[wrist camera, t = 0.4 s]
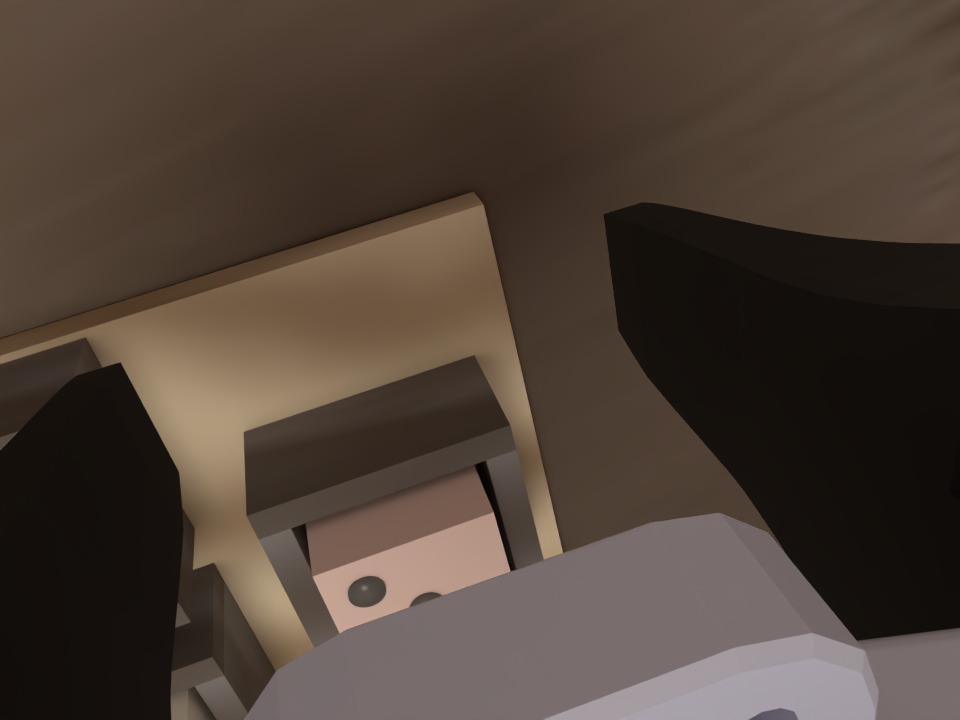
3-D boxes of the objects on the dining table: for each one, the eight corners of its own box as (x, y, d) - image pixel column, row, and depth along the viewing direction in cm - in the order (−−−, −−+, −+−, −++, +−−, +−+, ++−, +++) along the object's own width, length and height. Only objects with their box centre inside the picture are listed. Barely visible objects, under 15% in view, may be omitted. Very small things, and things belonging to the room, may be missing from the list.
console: (562, 574, 30) (611, 675, 26) (37, 767, 28) (8, 906, 24) (473, 191, 22) (525, 258, 18) (-279, 425, 20) (-398, 556, 16)
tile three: (498, 557, 24) (528, 634, 22) (352, 610, 24) (367, 694, 21) (464, 443, 22) (494, 514, 19) (302, 499, 21) (312, 579, 19)
